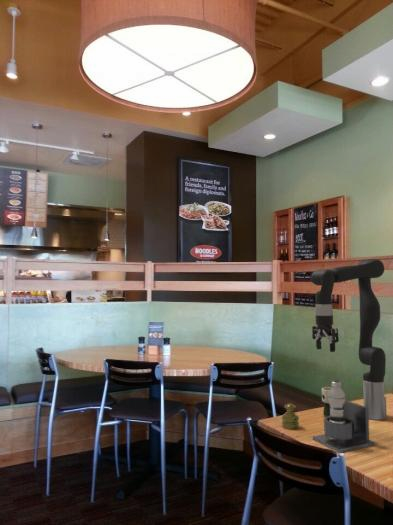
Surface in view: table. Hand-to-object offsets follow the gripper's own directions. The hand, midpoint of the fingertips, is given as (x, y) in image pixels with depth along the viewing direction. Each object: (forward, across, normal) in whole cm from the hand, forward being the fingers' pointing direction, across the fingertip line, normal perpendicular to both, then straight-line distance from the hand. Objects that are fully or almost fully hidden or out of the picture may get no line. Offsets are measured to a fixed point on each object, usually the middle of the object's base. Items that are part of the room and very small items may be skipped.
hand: (325, 350), depth 185 cm
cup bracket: (+34, -16, +8) cm, 38 cm away
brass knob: (+34, +8, +15) cm, 38 cm away
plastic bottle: (+30, -15, +9) cm, 35 cm away
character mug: (+34, +11, -11) cm, 38 cm away
